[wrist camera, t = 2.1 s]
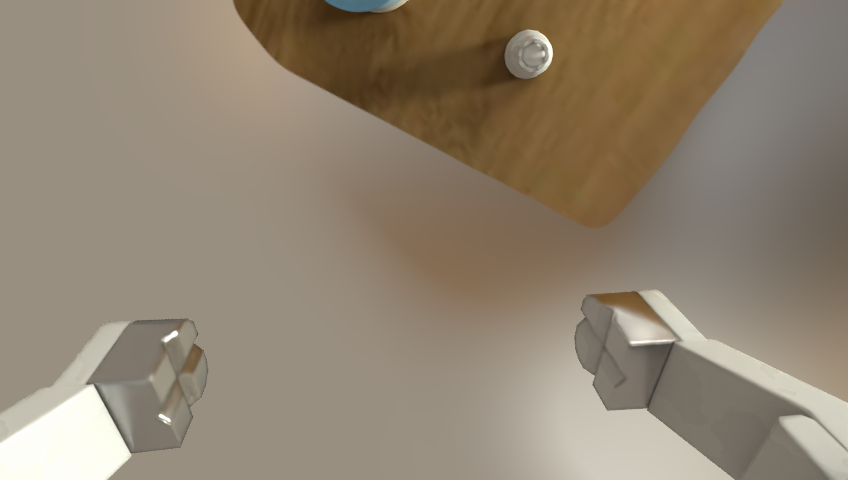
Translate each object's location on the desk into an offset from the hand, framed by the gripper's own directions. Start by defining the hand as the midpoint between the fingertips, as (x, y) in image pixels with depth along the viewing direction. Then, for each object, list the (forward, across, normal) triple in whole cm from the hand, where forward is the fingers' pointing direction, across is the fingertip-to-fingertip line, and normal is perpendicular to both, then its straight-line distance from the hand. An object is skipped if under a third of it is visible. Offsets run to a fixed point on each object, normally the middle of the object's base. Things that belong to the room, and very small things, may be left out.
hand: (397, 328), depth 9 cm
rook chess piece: (+38, -15, -1) cm, 41 cm away
